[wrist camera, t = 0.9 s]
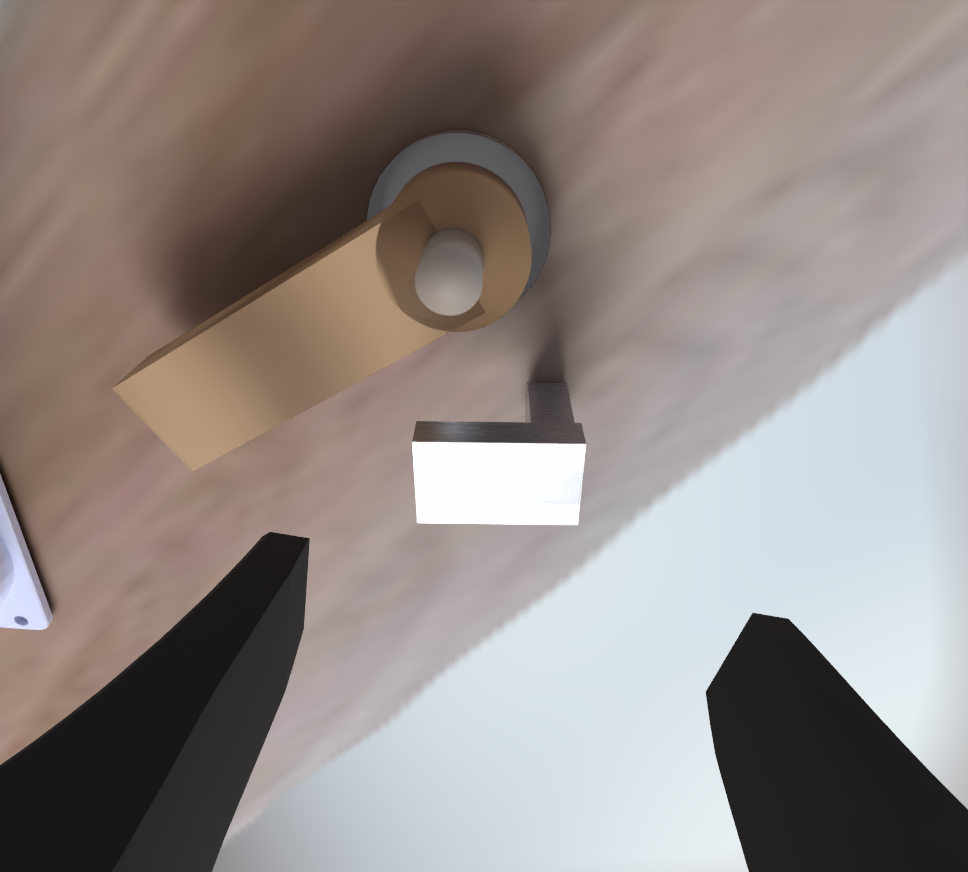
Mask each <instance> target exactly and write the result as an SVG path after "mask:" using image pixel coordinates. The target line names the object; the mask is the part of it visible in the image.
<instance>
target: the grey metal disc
mask: <svg viewBox="0 0 968 872" xmlns="http://www.w3.org/2000/svg"><path fill="white" fill-rule="evenodd" d="M446 162H467V163H472V164H476V165H479V166H481V167H484V168H486V169H488V170H490V171H492V172H494V173H495V174H496V175H498V176H499V177H501V178H502V179H503V180H504V181H505V182H506V183H507V184H508V185H509V186H510V187H511V189H512V190H513V191H514V192H515V194H516V196H517V197H518V199H519V200H520V203H521V205H522V207H523V209H524V213H525V216H526V220H527V226H528V232H529V237H530V244H531V255H532V260H531V270H530V274H529V278H528V281H527V284H526V286H525V289H524V290H523V292H522V294H521V296H520V298H521V297H522V296H523V295H524V294H525V293H526V292H527V291H528V290H529V288H530V287H531V286H532V285H533V283H534V282H535V280H536V279H537V277H538V275H539V273H540V271H541V269H542V267H543V265H544V262H545V259H546V256H547V253H548V248H549V243H550V231H551V229H550V216H549V210H548V205H547V202H546V199H545V196H544V193H543V190H542V187H541V185H540V183H539V181H538V179H537V177H536V175H535V174H534V172H533V171H532V169H531V167H530V166H529V165H528V164H527V163H526V161H525V160H524V159H523V158H522V157H521V156H520V155H519V154H518V153H517V152H516V151H514V150H513V149H512V148H511V147H509V146H508V145H506V144H505V143H503V142H501V141H499V140H497V139H495V138H493V137H491V136H488V135H485V134H482V133H479V132H474V131H468V130H449V131H441V132H437V133H434V134H430V135H427V136H425V137H423V138H420V139H418V140H417V141H415V142H413V143H412V144H410V145H408V146H407V147H406V148H405V149H403V150H402V151H401V152H400V153H399V154H398V155H397V156H396V157H395V158H394V159H393V160H392V161H391V162H390V164H389V165H388V166H387V167H386V168H385V170H384V171H383V173H382V174H381V176H380V177H379V179H378V181H377V183H376V185H375V187H374V189H373V192H372V195H371V198H370V202H369V207H368V212H367V220H368V219H370V218H372V217H373V216H375V215H376V214H378V213H380V212H381V211H383V210H384V209H386V208H388V207H389V206H391V204H392V203H393V201H394V200H395V198H396V197H397V195H398V194H399V192H400V191H401V190H402V188H403V187H404V186H405V184H406V183H407V182H408V181H409V180H410V179H412V178H413V177H414V176H415V175H417V174H418V173H419V172H421V171H423V170H425V169H427V168H428V167H431V166H434V165H437V164H441V163H446ZM520 298H519V299H520ZM519 299H518V300H519Z"/></svg>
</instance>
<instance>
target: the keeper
mask: <svg viewBox="0 0 968 872" xmlns="http://www.w3.org/2000/svg"><path fill="white" fill-rule="evenodd" d="M412 447H413V463H414V478H415V494H416V509H417V523H454V524H532V525H578V518H579V508H580V498H581V488H582V479H583V469H584V459H585V449H586V442H585V437H584V433H583V429H582V424H581V423H575V422H574V417H573V413H572V408H571V403H570V398H569V394H568V389H567V384H566V383H538V382H527V400H526V423H518V422H426V421H417V422H416V426H415V431H414V436H413V440H412Z"/></svg>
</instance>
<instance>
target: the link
mask: <svg viewBox="0 0 968 872" xmlns="http://www.w3.org/2000/svg"><path fill="white" fill-rule="evenodd" d="M531 260H532V255H531V244H530V237H529V232H528V226H527V220H526V216H525V213H524V209H523V207H522V205H521V203H520V200H519V199H518V197H517V196H516V194H515V192H514V191H513V190H512V189H511V187H510V186H509V185H508V184H507V183H506V182H505V181H504V180H503V179H502V178H501V177H499V176H498V175H496V174H495V173H494V172H492V171H490V170H488V169H486V168H484V167H481V166H479V165H476V164H472V163H467V162H446V163H441V164H437V165H434V166H431V167H428V168H427V169H425V170H423V171H421V172H419V173H418V174H417V175H415V176H414V177H413V178H412V179H410V180H409V181H408V182H407V183H406V184H405V186H404V187H403V188H402V190H401V191H400V192H399V194H398V195H397V197H396V198H395V200H394V201H393V203H392V204H391V206H389V207H388V208H386V209H384V210H383V211H381V212H380V213H378V214H376V215H375V216H373V217H372V218H370V219H368V220H367V221H365V222H364V223H362V224H360V225H359V226H357V227H355V228H354V229H352V230H351V231H349V232H347V233H346V234H344V235H343V236H341V237H339V238H338V239H336V240H335V241H333V242H331V243H330V244H328V245H327V246H325V247H323V248H322V249H320V250H318V251H317V252H315V253H314V254H312V255H310V256H309V257H307V258H306V259H304V260H302V261H301V262H299V263H298V264H296V265H294V266H293V267H291V268H290V269H288V270H286V271H285V272H283V273H281V274H280V275H278V276H277V277H275V278H273V279H272V280H270V281H269V282H267V283H265V284H264V285H262V286H261V287H259V288H257V289H256V290H254V291H253V292H251V293H249V294H248V295H246V296H244V297H243V298H241V299H240V300H238V301H236V302H235V303H233V304H232V305H230V306H228V307H227V308H225V309H224V310H222V311H220V312H219V313H217V314H216V315H214V316H212V317H211V318H209V319H207V320H206V321H204V322H203V323H201V324H199V325H198V326H196V327H195V328H193V329H191V330H190V331H188V332H187V333H185V334H183V335H182V336H180V337H179V338H177V339H175V340H174V341H172V342H170V343H169V344H167V345H166V346H164V347H162V348H161V349H159V350H158V351H156V352H154V353H153V354H151V355H150V356H148V357H147V358H146V359H145V360H143V361H142V362H141V363H140V364H139V365H138V366H137V367H136V368H134V369H133V370H132V371H131V372H130V373H129V374H128V375H126V376H125V377H124V378H123V379H122V380H121V381H120V382H119V383H117V384H116V385H115V386H114V387H113V388H112V389H113V390H114V391H115V392H116V393H117V394H118V395H119V396H120V397H121V398H122V399H123V400H124V401H125V402H126V403H127V404H128V405H129V406H130V408H131V409H132V410H133V411H134V412H135V413H136V414H137V415H138V416H139V417H140V418H141V419H142V420H143V421H144V422H145V423H146V424H147V425H148V426H149V427H150V428H151V429H152V430H153V431H154V432H155V433H156V434H157V435H158V436H159V437H160V438H161V440H162V441H163V442H164V443H165V444H166V445H167V446H168V447H169V448H170V449H171V450H172V451H173V452H174V453H175V454H176V455H177V456H178V457H179V458H180V459H181V460H182V461H183V462H184V463H185V464H186V465H187V466H188V467H189V468H190V469H191V470H192V471H194V470H196V469H198V468H200V467H202V466H204V465H205V464H207V463H209V462H211V461H213V460H215V459H216V458H218V457H220V456H222V455H224V454H226V453H228V452H229V451H231V450H233V449H235V448H237V447H239V446H241V445H242V444H244V443H246V442H248V441H250V440H252V439H253V438H255V437H257V436H259V435H261V434H263V433H265V432H266V431H268V430H270V429H272V428H274V427H276V426H277V425H279V424H281V423H283V422H285V421H287V420H289V419H290V418H292V417H294V416H296V415H298V414H300V413H302V412H303V411H305V410H307V409H309V408H311V407H313V406H314V405H316V404H318V403H320V402H322V401H324V400H326V399H327V398H329V397H331V396H333V395H335V394H337V393H338V392H340V391H342V390H344V389H346V388H348V387H350V386H351V385H353V384H355V383H357V382H359V381H361V380H363V379H364V378H366V377H368V376H370V375H372V374H374V373H375V372H377V371H379V370H381V369H383V368H385V367H387V366H388V365H390V364H392V363H394V362H396V361H398V360H400V359H401V358H403V357H405V356H407V355H409V354H411V353H412V352H414V351H416V350H418V349H420V348H422V347H424V346H425V345H427V344H429V343H431V342H433V341H435V340H436V339H438V338H440V337H442V336H444V335H446V334H448V333H449V332H465V331H471V330H475V329H479V328H482V327H484V326H487V325H489V324H491V323H493V322H494V321H496V320H498V319H499V318H501V317H502V316H503V315H504V314H506V313H507V312H508V311H509V310H510V309H511V308H512V307H513V306H514V304H515V303H516V302H517V300H518V299H519V298H520V296H521V294H522V292H523V290H524V289H525V286H526V284H527V281H528V278H529V274H530V270H531Z"/></svg>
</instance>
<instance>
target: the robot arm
mask: <svg viewBox="0 0 968 872" xmlns="http://www.w3.org/2000/svg"><path fill="white" fill-rule="evenodd" d="M308 555H309V538H303V537H297V536H291V535H285V534H279V533H273V532H269V533H268V534H266V535H264V536H262V538H261V539H260V540H259V541H258V542H257V543H256V544H255V546H254V547H253V548H252V549H251V550H250V551H249V552H248V553H247V554H246V555H245V556H244V558H243V559H242V560H241V561H240V562H239V563H238V564H237V565H236V566H235V567H234V568H233V569H232V570H231V571H230V572H229V573H228V574H227V575H226V576H225V577H224V578H223V579H222V580H221V581H220V582H219V584H218V585H217V586H216V587H215V588H214V589H213V590H212V591H211V592H210V593H209V594H208V595H207V596H206V597H204V598H203V599H202V600H201V601H200V602H199V603H198V604H197V605H196V606H195V607H194V608H193V609H192V610H191V611H190V612H189V613H188V614H187V615H185V616H184V617H183V618H182V619H181V620H180V621H179V622H178V623H177V624H176V625H175V626H174V627H173V628H172V629H171V630H170V631H169V632H167V633H166V634H165V635H164V636H163V637H162V638H161V639H160V640H159V641H157V642H156V643H155V644H154V645H153V646H152V647H151V648H149V649H148V650H147V651H146V652H145V653H144V654H142V655H141V656H140V657H139V658H138V659H137V660H135V661H134V662H133V663H132V664H131V665H130V666H128V667H127V668H126V669H125V670H124V671H123V672H121V673H120V674H119V675H118V676H117V677H116V678H114V679H113V680H112V681H111V682H110V683H108V684H107V685H106V686H105V687H104V688H102V689H101V690H100V691H99V692H97V693H96V694H95V695H94V696H92V697H91V698H90V699H89V700H87V701H86V702H85V703H84V704H82V705H81V706H80V707H79V708H77V709H76V710H75V711H73V712H72V713H71V714H70V715H68V716H67V717H66V718H64V719H63V720H62V721H60V722H59V723H58V724H56V725H55V726H54V727H52V728H51V729H50V730H48V731H47V732H46V733H44V734H43V735H42V736H40V737H39V738H38V739H36V740H35V741H34V742H32V743H31V744H30V745H28V746H27V747H26V748H24V749H23V750H21V751H20V752H18V753H17V754H16V755H14V756H13V757H11V758H10V759H8V760H7V761H6V762H4V763H3V764H1V765H0V872H212V870H213V867H214V864H215V862H216V859H217V856H218V854H219V851H220V848H221V846H222V843H223V840H224V838H225V835H226V833H227V830H228V828H229V826H230V823H231V821H232V818H233V816H234V814H235V811H236V809H237V806H238V804H239V802H240V799H241V797H242V794H243V792H244V790H245V787H246V785H247V782H248V780H249V778H250V775H251V773H252V770H253V768H254V766H255V763H256V761H257V758H258V756H259V754H260V751H261V749H262V746H263V744H264V742H265V739H266V737H267V734H268V732H269V729H270V727H271V725H272V722H273V720H274V717H275V715H276V712H277V710H278V708H279V705H280V703H281V700H282V698H283V695H284V693H285V690H286V687H287V683H288V680H289V677H290V674H291V670H292V667H293V664H294V660H295V657H296V653H297V650H298V646H299V643H300V640H301V636H302V633H303V629H304V616H305V601H306V585H307V570H308ZM52 620H53V616H52V613H51V611H50V608H49V605H48V602H47V600H46V597H45V594H44V592H43V589H42V586H41V583H40V581H39V578H38V575H37V572H36V570H35V567H34V564H33V562H32V559H31V556H30V553H29V551H28V548H27V545H26V543H25V540H24V537H23V534H22V532H21V529H20V526H19V523H18V521H17V518H16V515H15V513H14V510H13V507H12V504H11V502H10V499H9V496H8V493H7V491H6V488H5V485H4V483H3V480H2V477H1V474H0V627H5V628H19V629H32V630H43V629H45V628H47V627H48V625H49V624H50V623H51V621H52ZM706 696H707V704H708V711H709V718H710V725H711V731H712V737H713V743H714V748H715V754H716V758H717V762H718V766H719V769H720V773H721V777H722V780H723V784H724V787H725V790H726V794H727V798H728V801H729V805H730V809H731V812H732V815H733V819H734V822H735V826H736V828H737V832H738V836H739V839H740V842H741V846H742V850H743V853H744V856H745V860H746V863H747V867H748V870H749V872H968V809H967V808H966V807H965V806H964V805H963V804H962V803H960V802H959V800H958V799H957V798H956V797H955V796H954V795H953V794H952V793H951V792H950V791H949V790H947V788H945V786H944V785H943V784H942V783H941V782H940V781H939V780H938V779H937V778H936V777H935V776H934V775H933V774H932V773H931V772H930V771H929V770H928V769H927V768H926V767H925V766H924V765H923V764H922V763H921V762H920V761H919V760H918V759H917V757H916V756H915V755H913V753H912V752H911V751H910V750H909V749H908V748H907V747H906V746H905V745H904V744H903V743H902V742H901V741H900V740H899V738H898V737H897V736H896V735H895V734H894V733H893V732H892V731H891V730H890V729H889V728H888V726H887V725H886V724H885V723H884V722H883V721H882V720H881V719H880V718H879V717H878V716H877V715H876V714H875V712H874V711H873V710H872V709H871V708H870V707H869V706H868V705H867V704H866V703H865V701H864V700H863V699H862V698H861V697H860V696H859V695H858V694H857V692H856V691H855V690H854V689H853V688H852V687H851V686H850V685H849V684H848V683H847V681H846V680H845V679H844V678H843V677H842V676H841V675H840V674H839V673H838V671H837V670H836V669H835V668H834V667H833V666H832V665H831V664H830V663H829V661H828V660H827V659H826V658H825V657H824V656H823V655H822V654H821V653H820V652H819V651H818V649H817V648H816V647H815V646H814V645H813V644H812V643H811V642H810V641H809V640H808V639H807V638H806V636H805V635H804V634H803V633H802V632H801V631H800V630H799V629H798V628H797V627H796V626H795V625H794V624H793V623H792V622H791V621H790V620H789V619H786V618H780V617H774V616H768V615H762V614H756V613H753V614H752V615H751V617H750V618H749V620H748V622H747V623H746V625H745V627H744V628H743V630H742V632H741V633H740V635H739V637H738V639H737V640H736V642H735V644H734V645H733V647H732V649H731V650H730V652H729V654H728V655H727V657H726V659H725V661H724V662H723V664H722V666H721V667H720V669H719V671H718V672H717V674H716V676H715V677H714V679H713V681H712V682H711V684H710V686H709V687H708V689H707V691H706Z"/></svg>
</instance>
